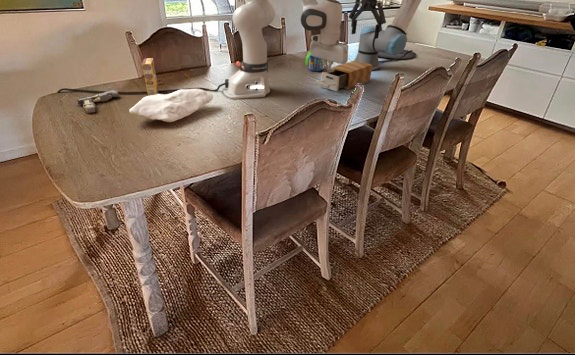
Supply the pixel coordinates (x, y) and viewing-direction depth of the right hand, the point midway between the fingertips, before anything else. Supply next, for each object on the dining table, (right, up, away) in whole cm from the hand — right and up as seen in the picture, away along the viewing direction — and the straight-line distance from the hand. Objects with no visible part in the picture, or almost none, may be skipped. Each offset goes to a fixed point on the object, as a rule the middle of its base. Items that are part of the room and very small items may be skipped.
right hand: (364, 36), depth 184 cm
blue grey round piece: (+31, +14, +66) cm, 74 cm away
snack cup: (-23, -10, +25) cm, 35 cm away
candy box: (-101, -34, -17) cm, 108 cm away
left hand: (-20, -20, -12) cm, 31 cm away
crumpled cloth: (-86, -46, -35) cm, 104 cm away
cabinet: (-5, -22, +8) cm, 24 cm away
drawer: (-15, -26, -1) cm, 29 cm away
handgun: (-119, -40, -29) cm, 129 cm away
